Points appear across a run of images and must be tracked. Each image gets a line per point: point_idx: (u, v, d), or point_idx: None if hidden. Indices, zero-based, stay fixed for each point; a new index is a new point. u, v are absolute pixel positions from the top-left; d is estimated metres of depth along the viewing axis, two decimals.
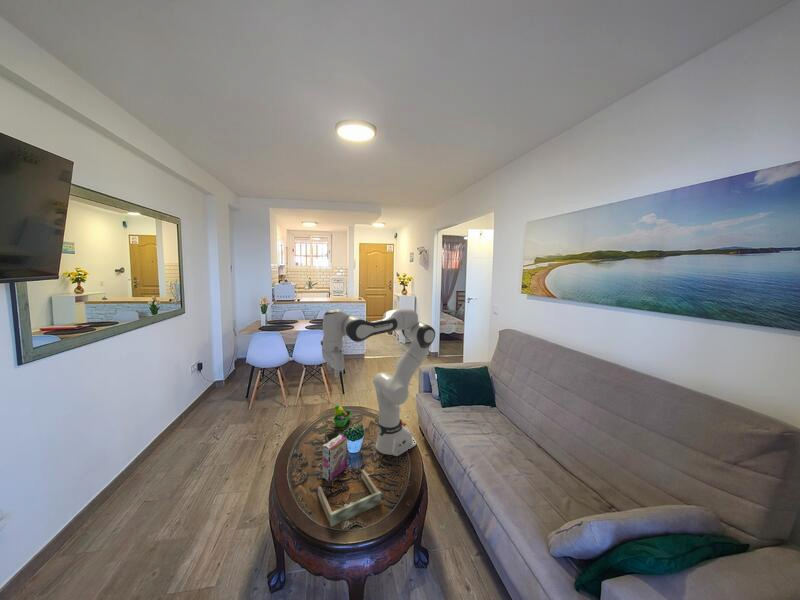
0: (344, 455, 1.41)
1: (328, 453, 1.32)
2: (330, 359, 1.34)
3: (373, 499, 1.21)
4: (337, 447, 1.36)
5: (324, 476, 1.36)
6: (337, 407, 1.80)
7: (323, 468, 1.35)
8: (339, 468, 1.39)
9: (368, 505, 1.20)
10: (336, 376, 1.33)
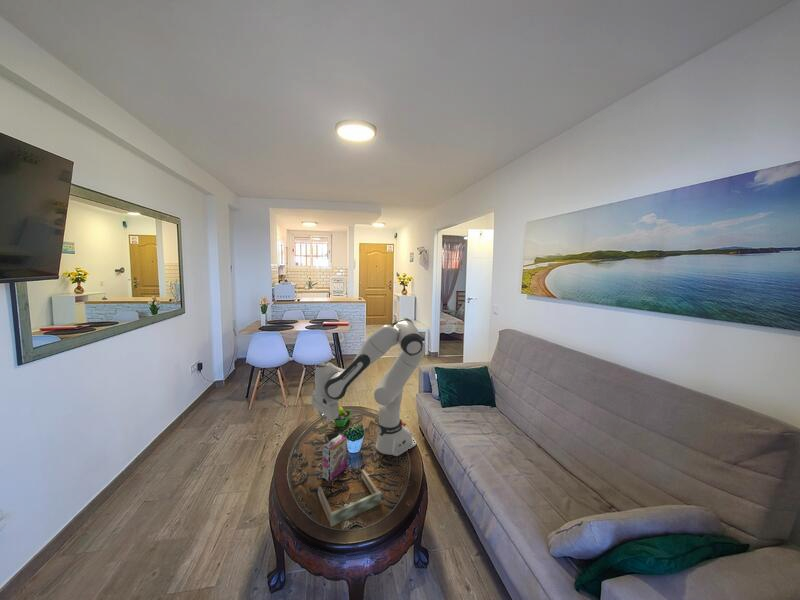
0: (344, 455, 1.41)
1: (328, 453, 1.32)
2: None
3: (373, 499, 1.21)
4: (337, 447, 1.36)
5: (324, 476, 1.36)
6: None
7: (323, 468, 1.35)
8: (339, 468, 1.39)
9: (368, 505, 1.20)
10: None
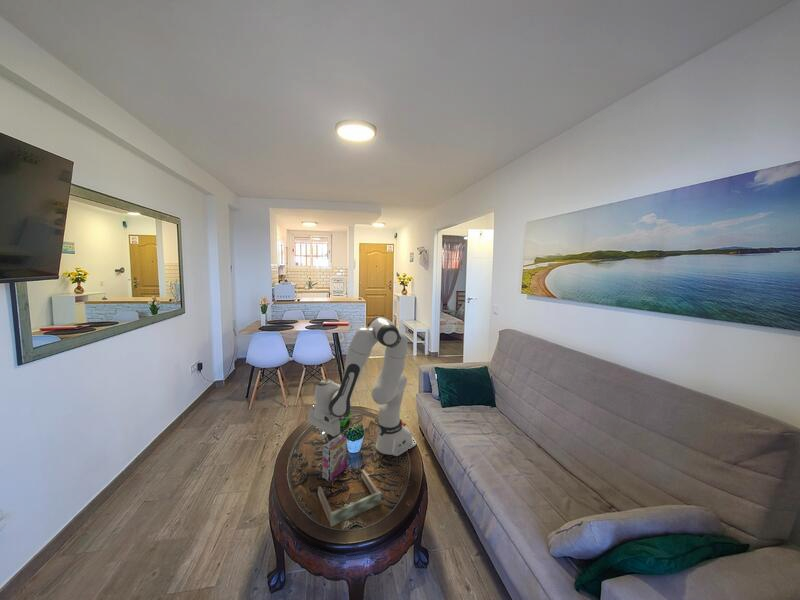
0: (344, 455, 1.41)
1: (328, 453, 1.32)
2: None
3: (373, 499, 1.21)
4: (337, 447, 1.36)
5: (324, 476, 1.36)
6: None
7: (323, 468, 1.35)
8: (339, 468, 1.39)
9: (368, 505, 1.20)
10: None
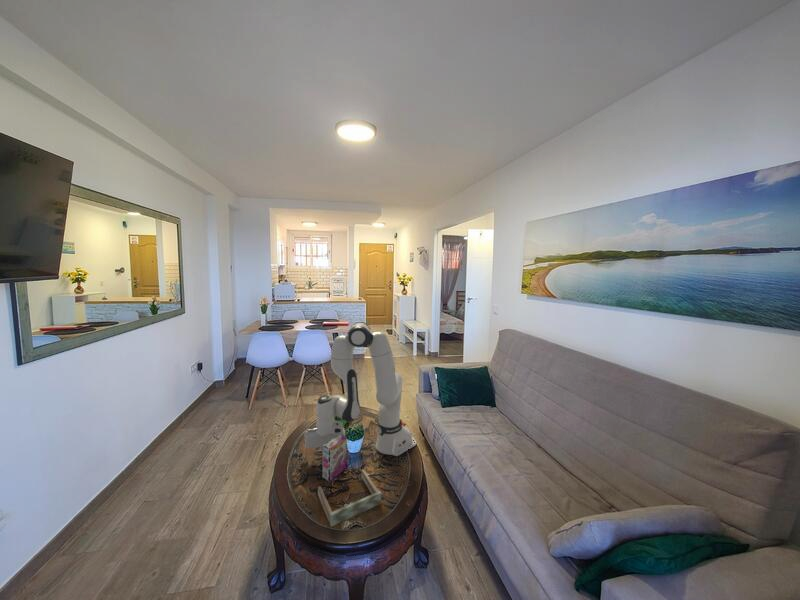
0: (344, 455, 1.41)
1: (328, 453, 1.32)
2: None
3: (373, 499, 1.21)
4: (337, 447, 1.36)
5: (324, 476, 1.36)
6: None
7: (323, 468, 1.35)
8: (339, 468, 1.39)
9: (368, 505, 1.20)
10: None
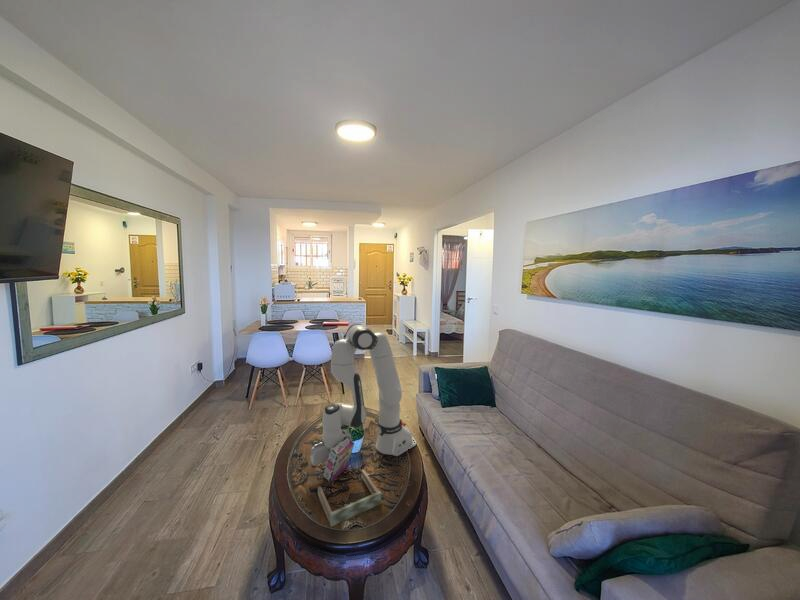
0: (348, 458, 1.39)
1: (335, 458, 1.30)
2: None
3: (373, 499, 1.21)
4: (344, 453, 1.33)
5: (325, 475, 1.35)
6: None
7: (326, 468, 1.34)
8: (341, 469, 1.38)
9: (368, 505, 1.20)
10: None
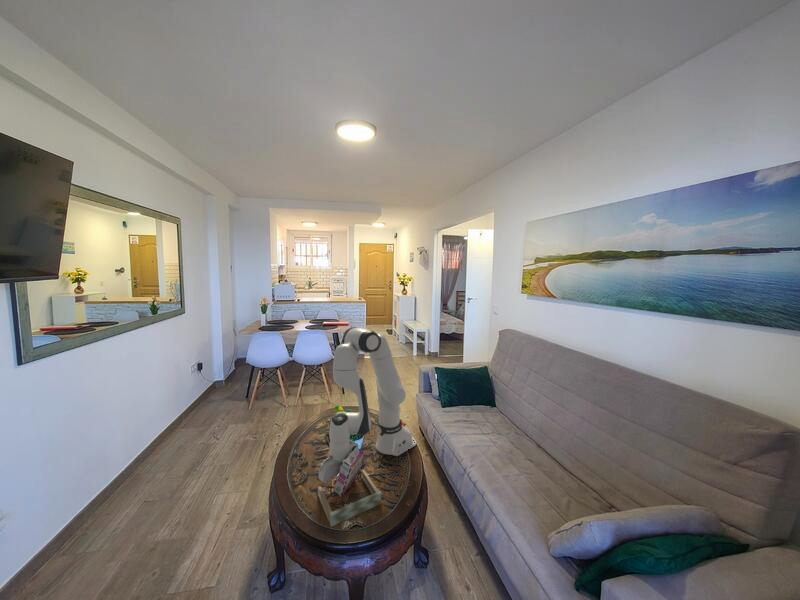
0: (358, 468, 1.33)
1: (348, 470, 1.23)
2: None
3: (373, 499, 1.21)
4: (356, 464, 1.26)
5: (336, 490, 1.27)
6: (337, 407, 1.80)
7: (337, 483, 1.26)
8: (351, 481, 1.31)
9: (368, 505, 1.20)
10: (336, 479, 1.32)
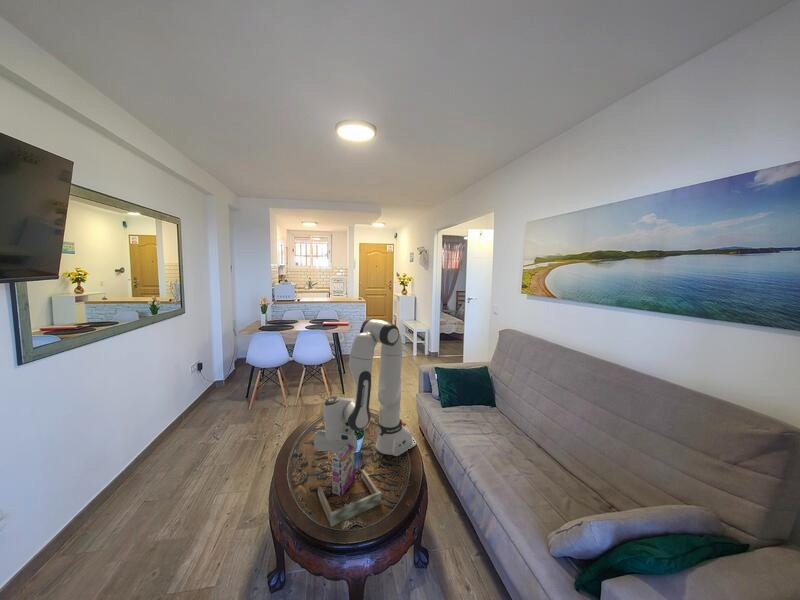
0: (353, 466, 1.34)
1: (338, 465, 1.24)
2: None
3: (373, 499, 1.21)
4: (346, 458, 1.28)
5: (335, 491, 1.27)
6: None
7: (333, 483, 1.27)
8: (349, 480, 1.31)
9: (368, 505, 1.20)
10: None
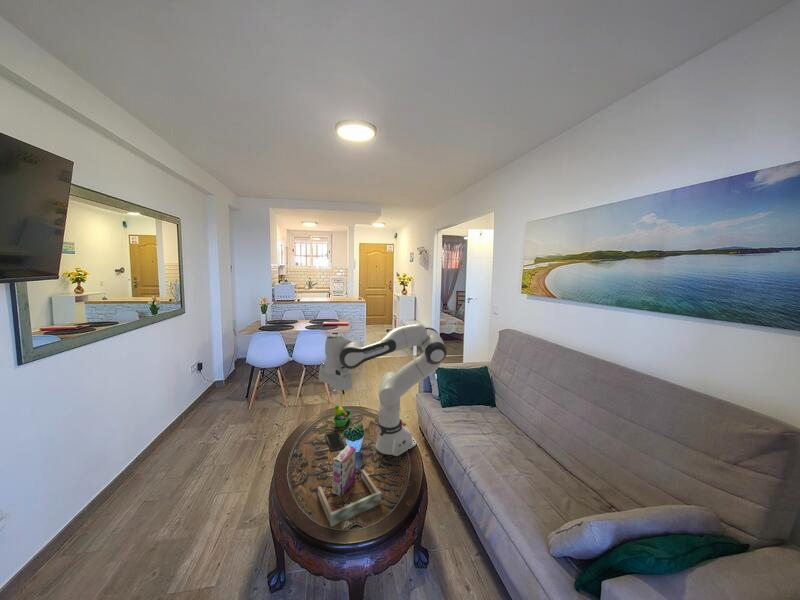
0: (353, 466, 1.33)
1: (340, 466, 1.24)
2: None
3: (373, 499, 1.21)
4: (347, 460, 1.28)
5: (335, 492, 1.27)
6: (337, 407, 1.80)
7: (333, 483, 1.27)
8: (349, 480, 1.31)
9: (368, 505, 1.20)
10: None
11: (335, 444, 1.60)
